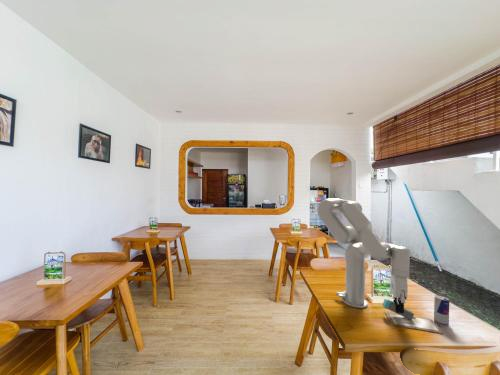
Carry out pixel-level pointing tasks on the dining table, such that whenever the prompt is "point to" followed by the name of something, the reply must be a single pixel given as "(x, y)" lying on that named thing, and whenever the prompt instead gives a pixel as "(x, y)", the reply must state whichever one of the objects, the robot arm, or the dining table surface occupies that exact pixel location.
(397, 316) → the clipboard
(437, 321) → the energy drink
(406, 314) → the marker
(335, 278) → the dining table surface
